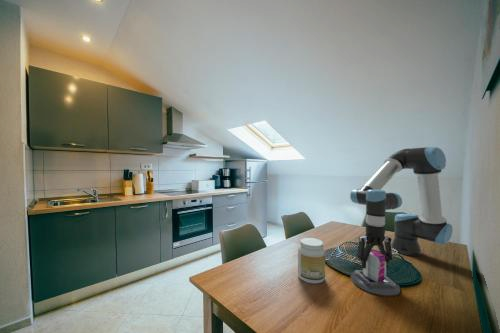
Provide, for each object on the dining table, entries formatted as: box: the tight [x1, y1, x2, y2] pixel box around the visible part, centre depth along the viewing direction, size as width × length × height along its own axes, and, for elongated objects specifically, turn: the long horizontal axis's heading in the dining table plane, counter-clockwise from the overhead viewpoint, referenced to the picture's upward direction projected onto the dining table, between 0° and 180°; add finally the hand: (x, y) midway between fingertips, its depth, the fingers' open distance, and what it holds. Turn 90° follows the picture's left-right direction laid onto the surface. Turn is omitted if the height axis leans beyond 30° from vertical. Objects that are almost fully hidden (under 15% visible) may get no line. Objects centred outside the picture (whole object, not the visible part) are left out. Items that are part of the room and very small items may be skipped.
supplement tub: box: [297, 237, 326, 284], centre depth 97 cm, size 12×12×17 cm
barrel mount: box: [350, 269, 401, 298], centre depth 93 cm, size 19×19×3 cm
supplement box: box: [364, 250, 385, 282], centre depth 93 cm, size 6×6×12 cm
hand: (374, 274), depth 93 cm, fingers closed on supplement box, 7 cm apart
